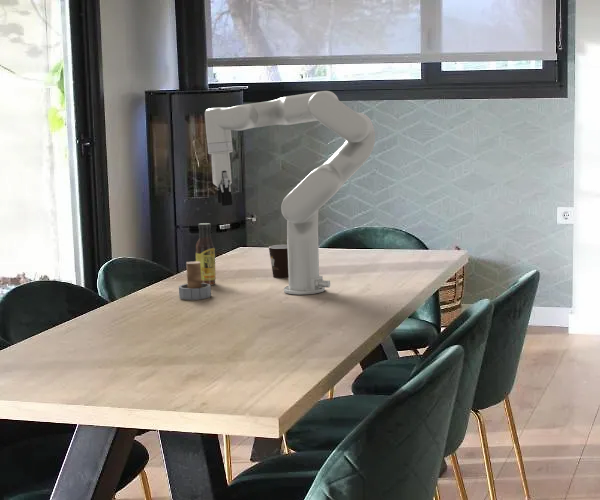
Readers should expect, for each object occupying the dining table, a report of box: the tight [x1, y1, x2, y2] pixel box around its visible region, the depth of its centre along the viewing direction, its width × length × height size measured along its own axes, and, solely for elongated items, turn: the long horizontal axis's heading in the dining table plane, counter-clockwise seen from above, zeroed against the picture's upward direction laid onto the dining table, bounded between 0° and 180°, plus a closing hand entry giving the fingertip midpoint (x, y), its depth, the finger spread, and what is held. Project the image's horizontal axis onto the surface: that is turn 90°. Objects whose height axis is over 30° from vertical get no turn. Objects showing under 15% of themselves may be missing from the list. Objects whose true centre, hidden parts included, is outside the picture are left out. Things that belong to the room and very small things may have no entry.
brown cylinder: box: [185, 260, 202, 288], centre depth 340 cm, size 4×4×10 cm
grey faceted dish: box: [178, 283, 212, 301], centre depth 341 cm, size 10×10×3 cm
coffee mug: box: [268, 244, 289, 279], centre depth 372 cm, size 12×9×10 cm
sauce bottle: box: [195, 222, 216, 286], centre depth 360 cm, size 6×6×20 cm
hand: (225, 203), depth 344 cm, fingers open, 9 cm apart
